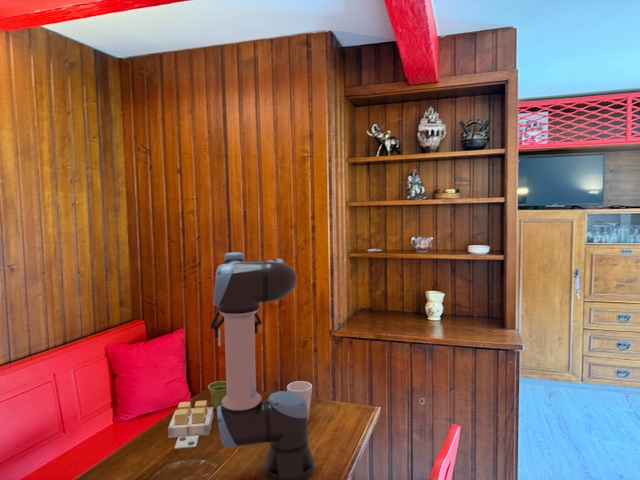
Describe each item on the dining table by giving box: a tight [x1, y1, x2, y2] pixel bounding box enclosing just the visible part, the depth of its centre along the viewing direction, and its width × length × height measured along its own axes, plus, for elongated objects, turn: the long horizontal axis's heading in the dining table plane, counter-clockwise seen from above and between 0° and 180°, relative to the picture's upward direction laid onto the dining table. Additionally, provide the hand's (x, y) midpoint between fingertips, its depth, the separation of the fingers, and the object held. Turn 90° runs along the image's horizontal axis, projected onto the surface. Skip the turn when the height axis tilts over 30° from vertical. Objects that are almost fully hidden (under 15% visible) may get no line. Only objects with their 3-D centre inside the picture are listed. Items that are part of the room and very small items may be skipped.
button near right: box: [192, 407, 205, 424], centre depth 157 cm, size 4×4×4 cm
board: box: [167, 406, 214, 439], centre depth 160 cm, size 14×14×4 cm
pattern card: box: [174, 435, 200, 450], centre depth 150 cm, size 7×7×1 cm
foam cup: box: [286, 380, 313, 420], centre depth 164 cm, size 10×9×13 cm
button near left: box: [174, 409, 188, 425], centre depth 157 cm, size 4×4×4 cm
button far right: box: [194, 400, 208, 415], centre depth 163 cm, size 4×4×4 cm
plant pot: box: [207, 380, 227, 410], centre depth 176 cm, size 9×9×9 cm
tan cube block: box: [177, 401, 192, 416], centre depth 163 cm, size 4×4×4 cm
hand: (236, 343), depth 175 cm, fingers open, 13 cm apart
